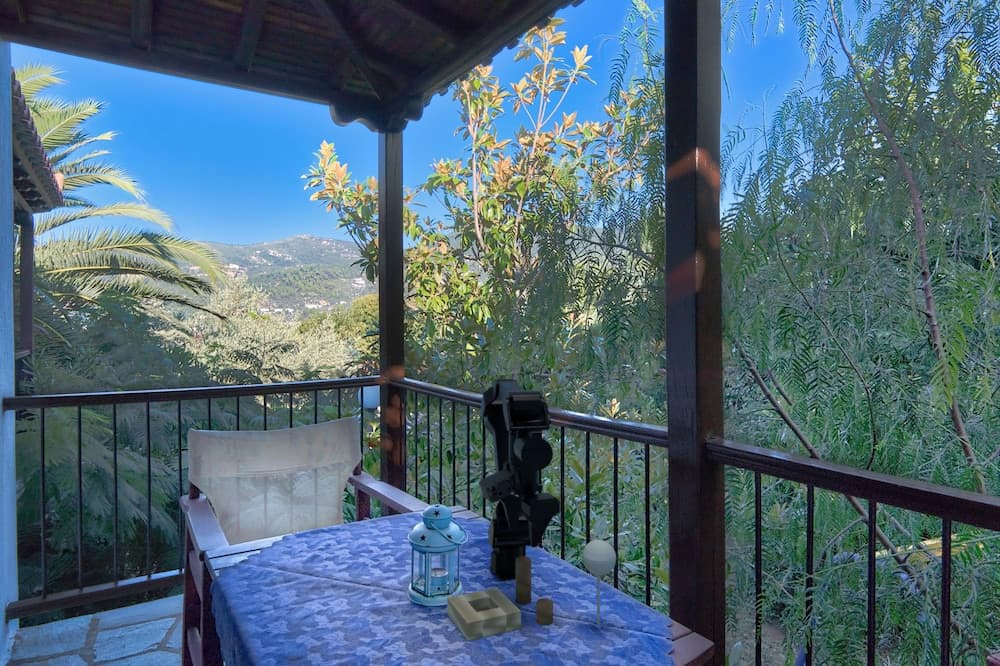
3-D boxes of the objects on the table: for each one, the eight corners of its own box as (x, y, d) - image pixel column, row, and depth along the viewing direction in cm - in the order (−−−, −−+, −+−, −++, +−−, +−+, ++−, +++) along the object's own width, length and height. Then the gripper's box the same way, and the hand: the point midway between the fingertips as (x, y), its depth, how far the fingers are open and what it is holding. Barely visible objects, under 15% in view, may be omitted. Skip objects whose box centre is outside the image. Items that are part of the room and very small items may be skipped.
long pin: (526, 596, 119) (526, 555, 119) (533, 602, 116) (534, 561, 116) (512, 598, 118) (513, 557, 117) (519, 605, 115) (520, 563, 115)
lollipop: (607, 637, 104) (608, 550, 103) (575, 627, 107) (576, 542, 107) (620, 622, 109) (621, 538, 109) (589, 613, 112) (590, 532, 112)
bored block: (497, 603, 116) (497, 587, 116) (520, 628, 107) (521, 611, 107) (447, 613, 112) (447, 597, 112) (467, 640, 103) (467, 623, 102)
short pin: (548, 615, 111) (548, 596, 111) (556, 623, 109) (556, 604, 108) (533, 619, 110) (533, 600, 110) (541, 627, 107) (541, 607, 107)
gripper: (466, 450, 121) (465, 528, 122) (505, 473, 104) (505, 563, 105) (516, 445, 126) (516, 521, 126) (562, 467, 109) (561, 553, 109)
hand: (523, 538), depth 117 cm, fingers open, 9 cm apart
